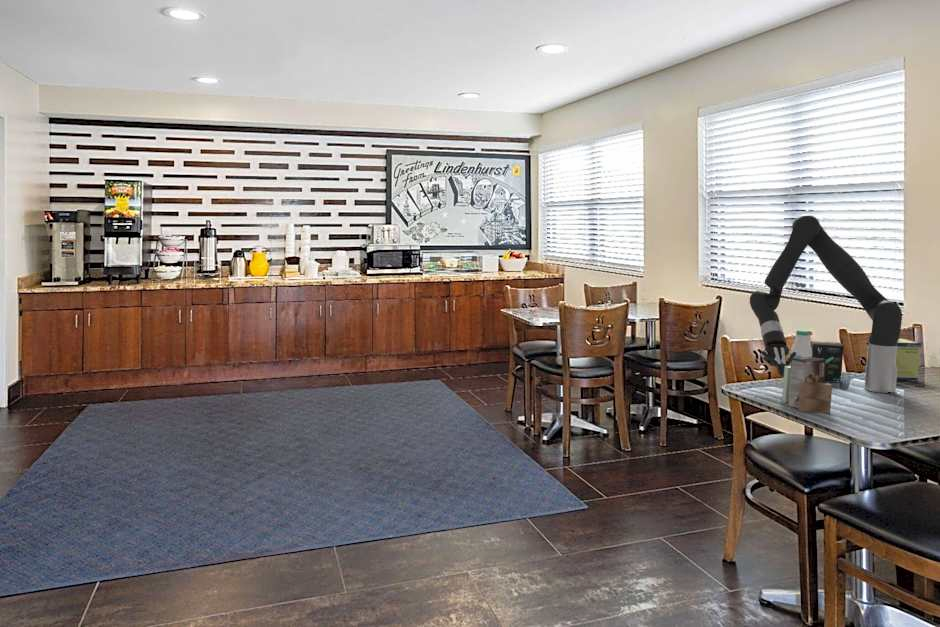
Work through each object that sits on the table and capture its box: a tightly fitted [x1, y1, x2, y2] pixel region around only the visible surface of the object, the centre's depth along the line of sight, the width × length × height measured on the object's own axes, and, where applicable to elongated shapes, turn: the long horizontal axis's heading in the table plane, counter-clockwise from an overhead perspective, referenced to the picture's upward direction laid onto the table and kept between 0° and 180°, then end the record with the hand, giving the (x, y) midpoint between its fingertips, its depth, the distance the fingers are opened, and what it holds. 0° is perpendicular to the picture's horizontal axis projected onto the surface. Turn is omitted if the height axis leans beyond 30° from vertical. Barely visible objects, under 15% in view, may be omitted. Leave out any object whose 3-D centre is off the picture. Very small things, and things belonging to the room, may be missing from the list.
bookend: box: [781, 366, 791, 403], centre depth 244 cm, size 8×3×12 cm, turn 87°
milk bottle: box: [789, 329, 812, 366], centre depth 278 cm, size 8×8×20 cm
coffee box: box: [787, 357, 826, 409], centre depth 238 cm, size 9×6×16 cm
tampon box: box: [810, 340, 844, 383], centre depth 284 cm, size 11×9×15 cm
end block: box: [797, 382, 833, 413], centre depth 232 cm, size 9×3×9 cm, turn 87°
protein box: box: [895, 338, 922, 381], centre depth 289 cm, size 10×16×16 cm
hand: (783, 374), depth 257 cm, fingers closed
